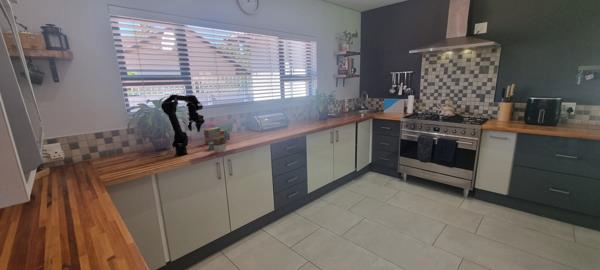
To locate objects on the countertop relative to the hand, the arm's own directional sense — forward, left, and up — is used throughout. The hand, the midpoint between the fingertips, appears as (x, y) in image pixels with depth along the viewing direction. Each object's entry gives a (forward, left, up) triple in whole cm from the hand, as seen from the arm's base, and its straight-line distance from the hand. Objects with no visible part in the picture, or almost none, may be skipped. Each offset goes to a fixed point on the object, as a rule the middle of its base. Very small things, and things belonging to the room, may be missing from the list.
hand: (194, 131), depth 195 cm
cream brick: (+2, -24, -13) cm, 27 cm away
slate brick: (+4, -16, -13) cm, 21 cm away
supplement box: (-10, +20, -13) cm, 26 cm away
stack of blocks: (+22, 0, -13) cm, 26 cm away
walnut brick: (+2, -24, -8) cm, 25 cm away
